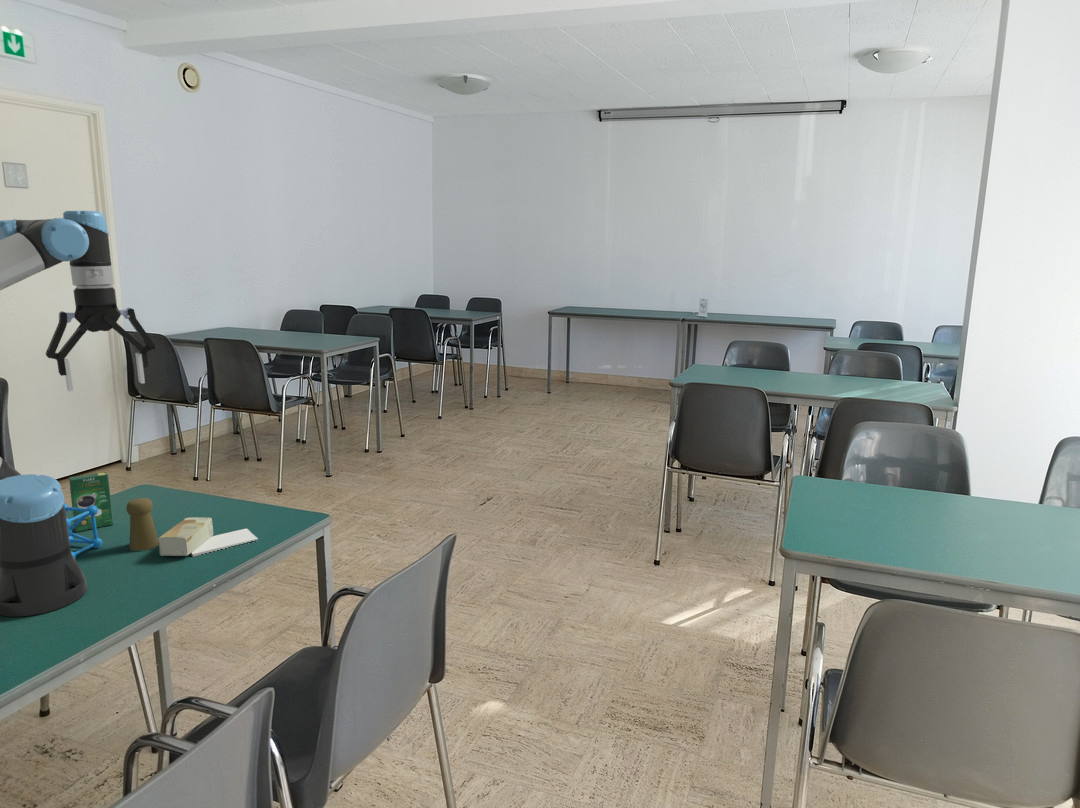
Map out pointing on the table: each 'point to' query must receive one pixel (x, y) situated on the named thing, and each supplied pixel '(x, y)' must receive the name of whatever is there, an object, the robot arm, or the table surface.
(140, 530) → the cork
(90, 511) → the molecular structure
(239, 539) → the mat
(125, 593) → the table surface
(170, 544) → the skincare box
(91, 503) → the coffee box
